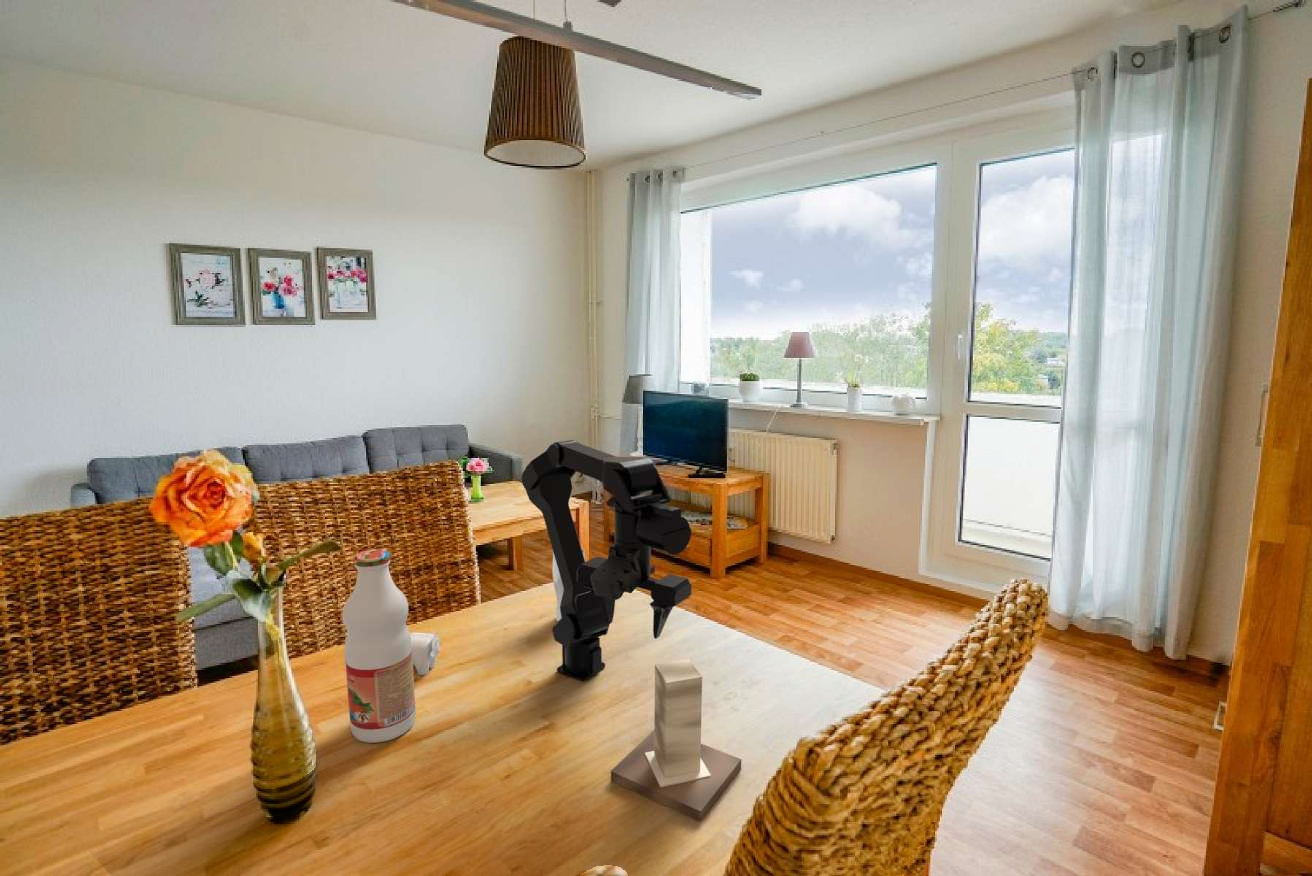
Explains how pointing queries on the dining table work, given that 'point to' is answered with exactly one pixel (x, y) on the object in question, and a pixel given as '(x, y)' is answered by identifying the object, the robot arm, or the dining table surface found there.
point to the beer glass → (559, 585)
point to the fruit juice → (378, 653)
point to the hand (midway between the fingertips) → (632, 630)
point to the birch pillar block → (677, 717)
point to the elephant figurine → (424, 651)
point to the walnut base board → (677, 779)
